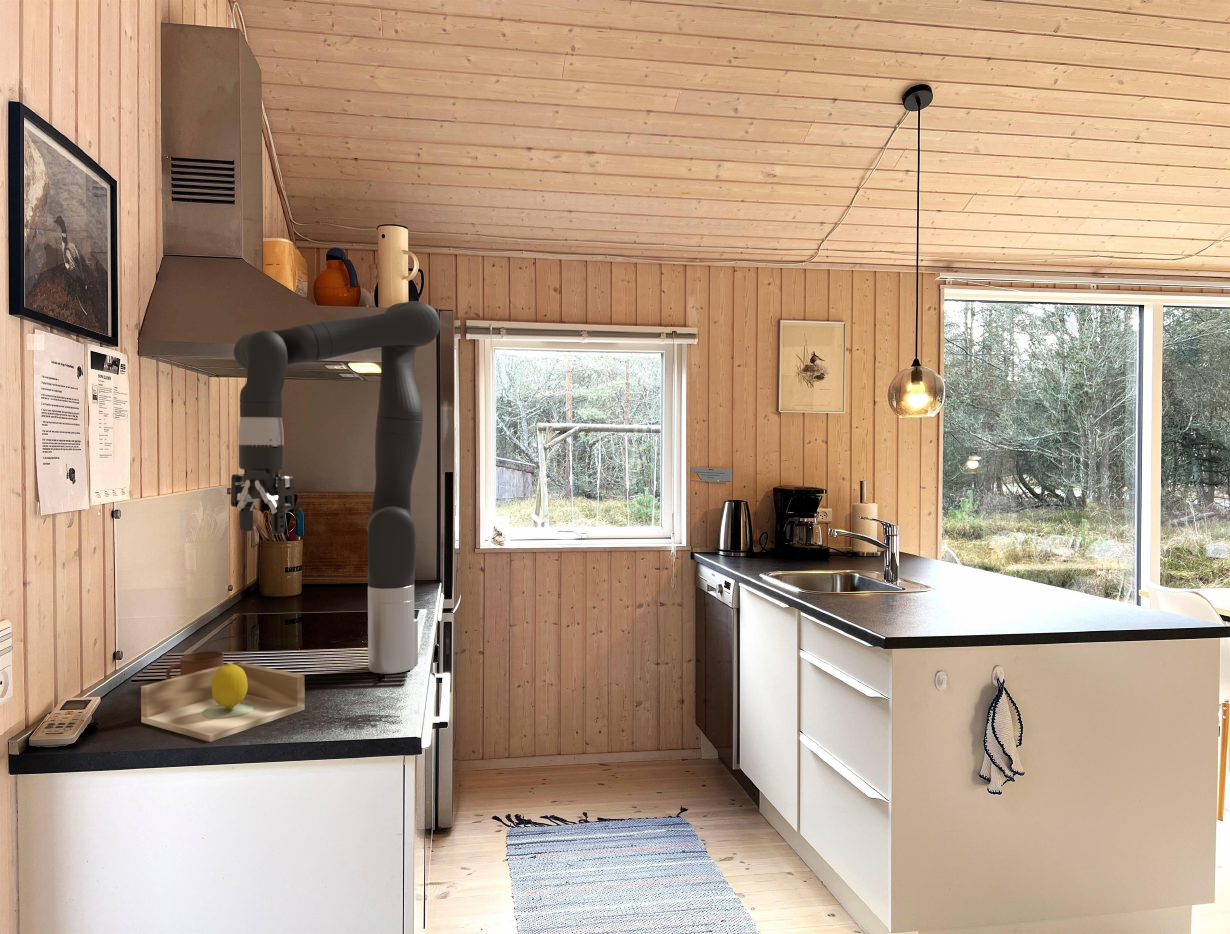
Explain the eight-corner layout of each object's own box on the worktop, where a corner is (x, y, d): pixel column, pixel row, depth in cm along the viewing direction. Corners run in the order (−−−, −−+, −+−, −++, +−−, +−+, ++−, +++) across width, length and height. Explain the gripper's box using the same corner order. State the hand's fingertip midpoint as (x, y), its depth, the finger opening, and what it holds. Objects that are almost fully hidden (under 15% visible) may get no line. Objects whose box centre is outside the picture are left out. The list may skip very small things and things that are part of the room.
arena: (237, 693, 154) (237, 661, 154) (304, 709, 145) (304, 675, 145) (141, 722, 138) (140, 686, 138) (210, 741, 129) (209, 703, 129)
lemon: (249, 703, 144) (249, 657, 144) (245, 713, 139) (244, 665, 139) (215, 706, 143) (214, 659, 143) (209, 716, 138) (208, 668, 137)
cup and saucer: (192, 701, 150) (192, 667, 149) (152, 691, 156) (152, 658, 155) (250, 684, 160) (250, 653, 160) (211, 676, 166) (210, 645, 166)
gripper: (217, 442, 151) (218, 532, 151) (270, 443, 144) (270, 537, 144) (253, 442, 157) (254, 528, 158) (305, 443, 150) (306, 533, 151)
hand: (262, 532), depth 151 cm, fingers open, 8 cm apart
